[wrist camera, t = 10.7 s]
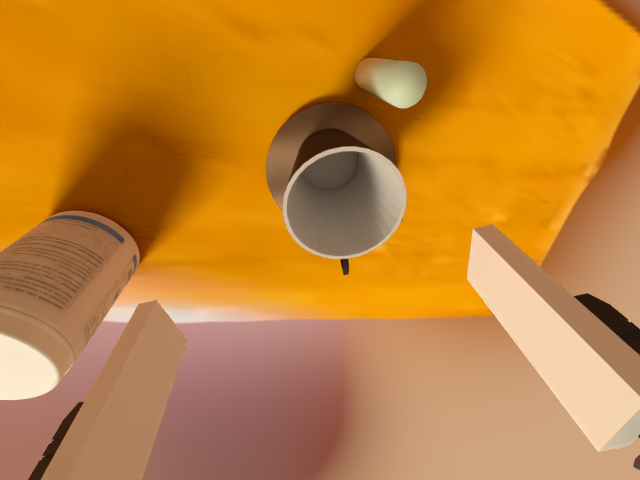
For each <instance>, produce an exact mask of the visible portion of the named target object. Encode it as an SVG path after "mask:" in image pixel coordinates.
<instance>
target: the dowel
mask: <svg viewBox="0 0 640 480" xmlns="http://www.w3.org/2000/svg"><path fill="white" fill-rule="evenodd" d="M354 78H355V81H356V83H357V85H358V86H359V87H361V88H362V89H364V90H366V91H368V92H370V93H371V94H373V95H375V96H377V97H379V98H381V99H382V100H384V101H386V102H388V103H390V104H392V105H393V106H395V107H398V108H408V107H411V106H413V105H415V104H416V103H417V102H418V101H419V100H420V99H421V98H422V96H423V94H424V92H425V90H426V86H427V76H426V72H425V70H424V69H423V67H422V66H421V65H420V64H418V63H416V62H411V61H401V60H391V59H381V58H371V57H368V58H364V59H362V60H361V61H360V62H359V63H358V64H357V66H356V68H355V72H354Z"/></svg>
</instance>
